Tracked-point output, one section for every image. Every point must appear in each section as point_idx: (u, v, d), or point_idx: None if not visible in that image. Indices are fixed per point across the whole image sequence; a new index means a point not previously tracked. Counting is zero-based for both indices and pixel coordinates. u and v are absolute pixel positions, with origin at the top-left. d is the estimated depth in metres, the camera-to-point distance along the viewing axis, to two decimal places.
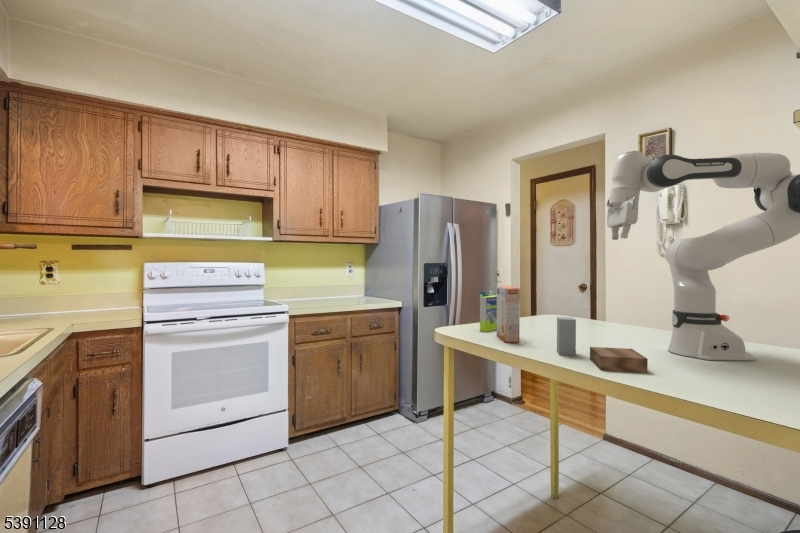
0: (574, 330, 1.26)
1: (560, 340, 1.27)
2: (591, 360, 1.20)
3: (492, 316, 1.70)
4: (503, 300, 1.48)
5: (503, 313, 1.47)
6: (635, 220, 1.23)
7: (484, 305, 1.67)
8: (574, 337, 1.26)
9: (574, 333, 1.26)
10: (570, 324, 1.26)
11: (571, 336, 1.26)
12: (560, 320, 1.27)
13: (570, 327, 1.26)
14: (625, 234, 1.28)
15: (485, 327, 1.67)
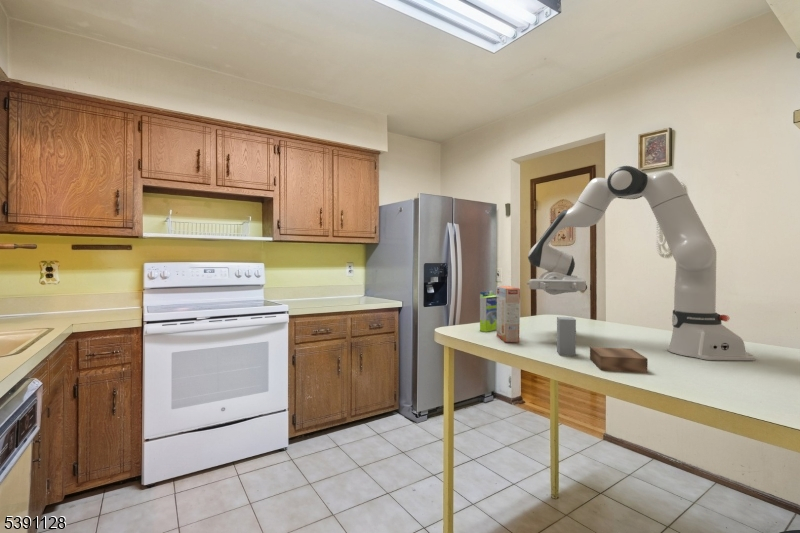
0: (574, 330, 1.26)
1: (560, 340, 1.27)
2: (591, 360, 1.20)
3: (492, 316, 1.70)
4: (503, 300, 1.48)
5: (503, 313, 1.47)
6: (529, 281, 1.48)
7: (484, 305, 1.67)
8: (574, 337, 1.26)
9: (574, 333, 1.26)
10: (570, 324, 1.26)
11: (572, 336, 1.26)
12: (560, 320, 1.27)
13: (570, 327, 1.26)
14: (543, 285, 1.43)
15: (485, 327, 1.67)
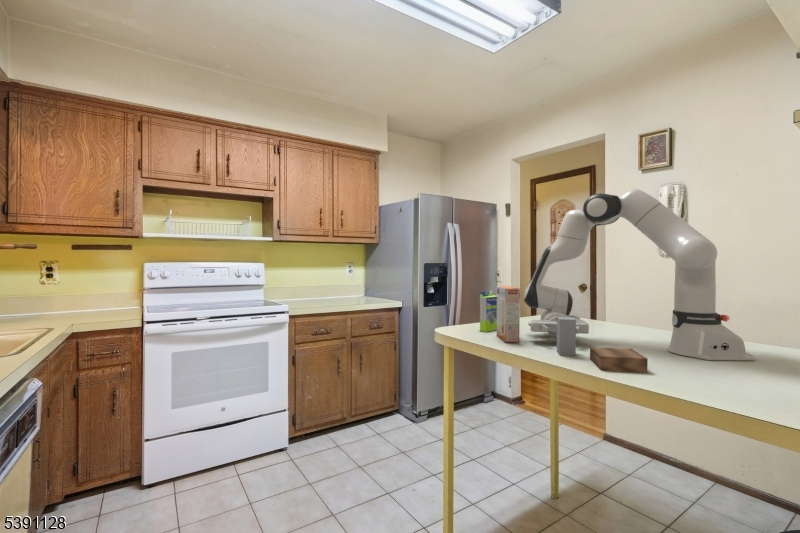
0: (574, 330, 1.26)
1: (560, 340, 1.27)
2: (591, 360, 1.20)
3: (492, 316, 1.70)
4: (503, 300, 1.48)
5: (503, 313, 1.47)
6: (531, 323, 1.44)
7: (484, 305, 1.67)
8: (574, 337, 1.26)
9: (574, 333, 1.26)
10: (570, 324, 1.26)
11: (571, 336, 1.26)
12: (560, 320, 1.27)
13: (570, 327, 1.26)
14: (545, 329, 1.39)
15: (485, 327, 1.67)
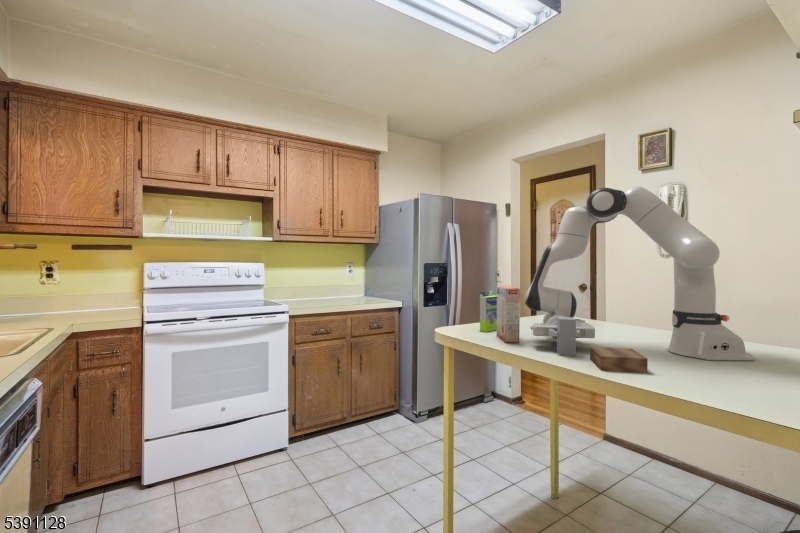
0: (574, 330, 1.26)
1: (560, 340, 1.27)
2: (591, 360, 1.20)
3: (492, 316, 1.70)
4: (503, 300, 1.48)
5: (503, 313, 1.47)
6: (533, 327, 1.36)
7: (484, 305, 1.67)
8: (574, 337, 1.26)
9: (574, 333, 1.26)
10: (570, 324, 1.26)
11: (571, 336, 1.26)
12: (560, 320, 1.27)
13: (570, 327, 1.26)
14: (553, 333, 1.30)
15: (485, 327, 1.67)
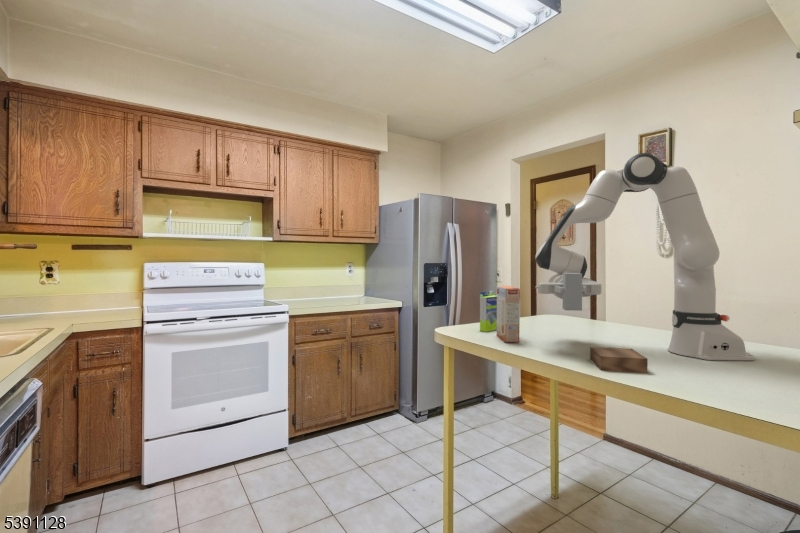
0: (580, 284, 1.24)
1: (566, 295, 1.25)
2: (591, 360, 1.20)
3: (492, 316, 1.70)
4: (503, 300, 1.48)
5: (503, 313, 1.47)
6: (538, 285, 1.34)
7: (484, 305, 1.67)
8: (580, 291, 1.24)
9: (580, 287, 1.24)
10: (576, 278, 1.24)
11: (578, 290, 1.24)
12: (566, 274, 1.25)
13: (576, 282, 1.24)
14: (559, 289, 1.28)
15: (485, 327, 1.67)
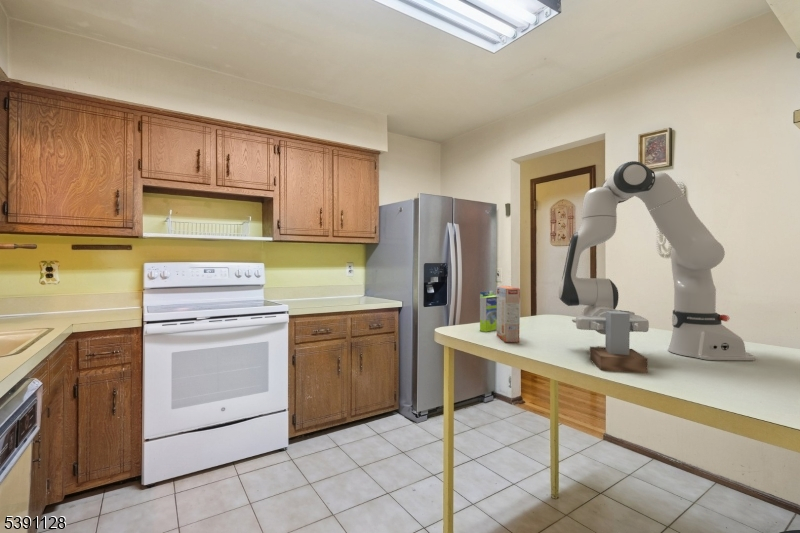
0: (628, 326, 1.11)
1: (611, 337, 1.12)
2: (591, 360, 1.20)
3: (492, 316, 1.70)
4: (503, 300, 1.48)
5: (503, 313, 1.47)
6: (577, 320, 1.21)
7: (484, 305, 1.67)
8: (628, 333, 1.11)
9: (628, 329, 1.11)
10: (623, 319, 1.12)
11: (625, 332, 1.11)
12: (611, 314, 1.12)
13: (623, 323, 1.12)
14: (596, 326, 1.16)
15: (485, 327, 1.67)
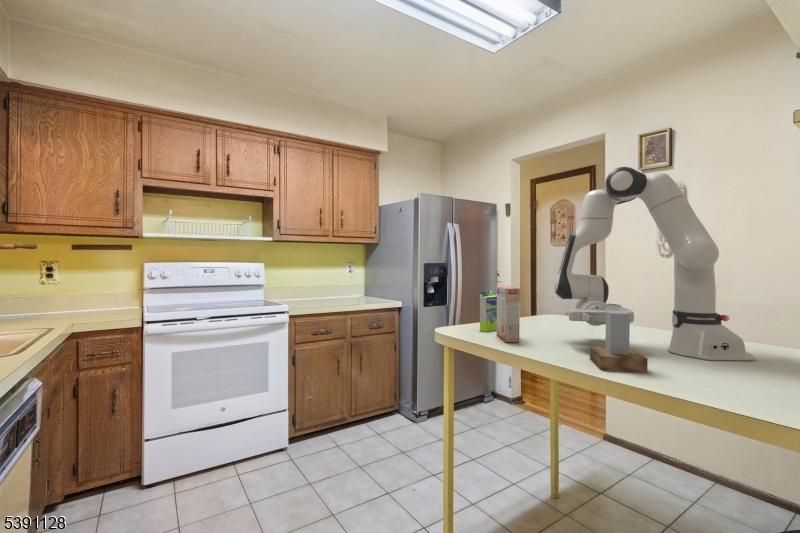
0: (628, 326, 1.11)
1: (611, 337, 1.12)
2: (591, 360, 1.20)
3: (492, 316, 1.70)
4: (503, 300, 1.48)
5: (503, 313, 1.47)
6: (569, 312, 1.34)
7: (484, 305, 1.67)
8: (628, 333, 1.11)
9: (628, 329, 1.11)
10: (623, 319, 1.12)
11: (625, 332, 1.11)
12: (611, 314, 1.12)
13: (623, 323, 1.12)
14: (586, 317, 1.28)
15: (485, 327, 1.67)
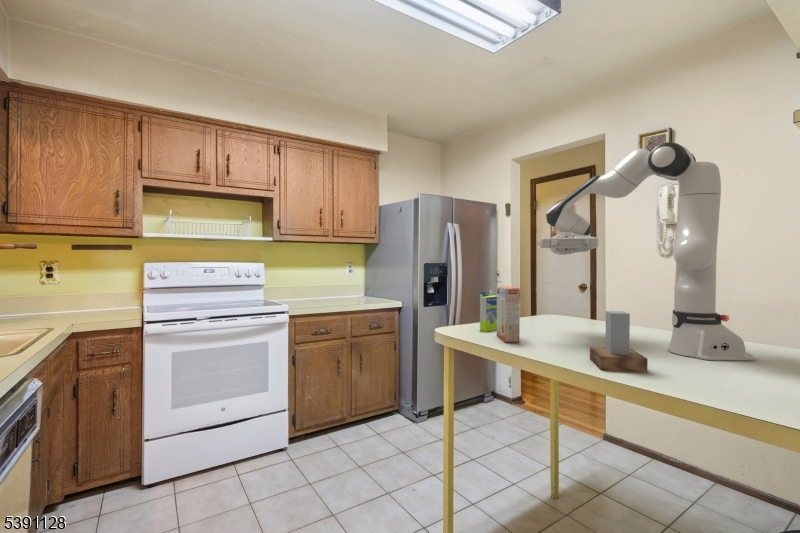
0: (628, 326, 1.11)
1: (611, 337, 1.12)
2: (591, 360, 1.20)
3: (492, 316, 1.70)
4: (503, 300, 1.48)
5: (503, 313, 1.47)
6: (541, 240, 1.47)
7: (484, 305, 1.67)
8: (628, 333, 1.11)
9: (628, 329, 1.11)
10: (623, 319, 1.12)
11: (625, 332, 1.11)
12: (611, 314, 1.12)
13: (623, 323, 1.12)
14: (555, 242, 1.41)
15: (485, 327, 1.67)
